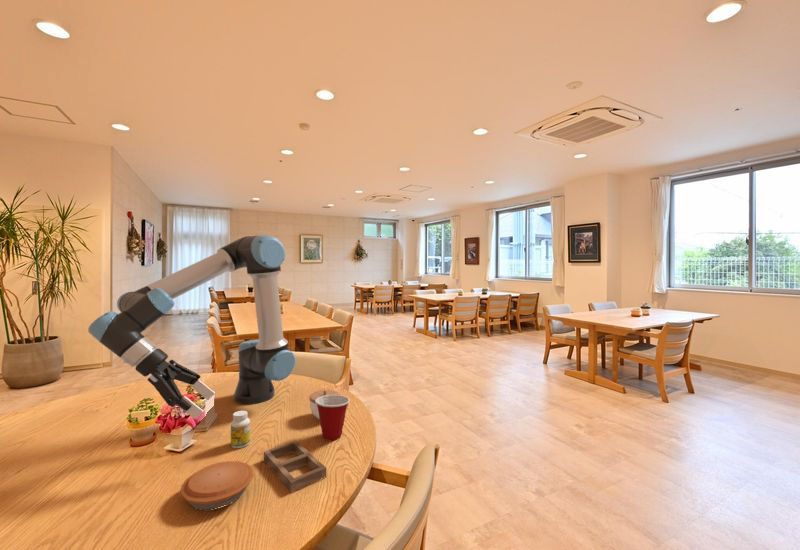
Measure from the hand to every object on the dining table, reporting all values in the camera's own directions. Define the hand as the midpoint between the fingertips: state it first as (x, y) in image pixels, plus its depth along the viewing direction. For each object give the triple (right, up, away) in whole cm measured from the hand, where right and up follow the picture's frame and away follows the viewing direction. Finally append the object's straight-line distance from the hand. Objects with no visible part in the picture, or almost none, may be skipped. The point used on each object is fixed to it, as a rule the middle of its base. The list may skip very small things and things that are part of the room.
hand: (206, 405), depth 104 cm
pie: (+13, -14, -19) cm, 27 cm away
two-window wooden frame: (+28, -14, -9) cm, 33 cm away
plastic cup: (+35, -13, +9) cm, 39 cm away
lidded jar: (+30, -13, +23) cm, 40 cm away
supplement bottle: (+8, -13, +3) cm, 16 cm away
